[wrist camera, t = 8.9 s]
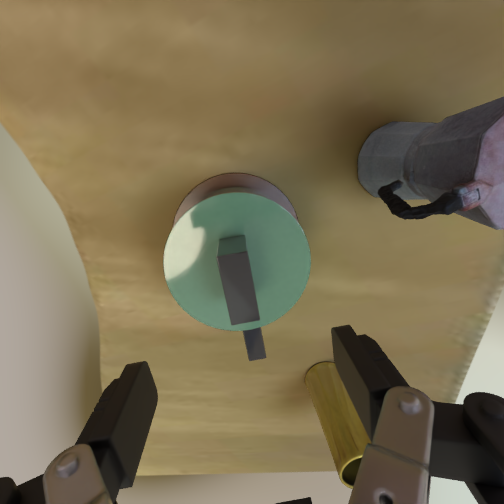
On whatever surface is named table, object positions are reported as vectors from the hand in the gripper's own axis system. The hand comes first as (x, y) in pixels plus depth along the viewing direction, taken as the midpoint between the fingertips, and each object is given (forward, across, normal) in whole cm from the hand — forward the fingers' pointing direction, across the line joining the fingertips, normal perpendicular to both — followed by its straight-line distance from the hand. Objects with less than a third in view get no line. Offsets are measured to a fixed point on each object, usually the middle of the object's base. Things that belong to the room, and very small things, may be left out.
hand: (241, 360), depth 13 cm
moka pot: (+26, -20, -4) cm, 33 cm away
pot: (+25, 0, +4) cm, 25 cm away
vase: (+26, -9, +26) cm, 38 cm away
